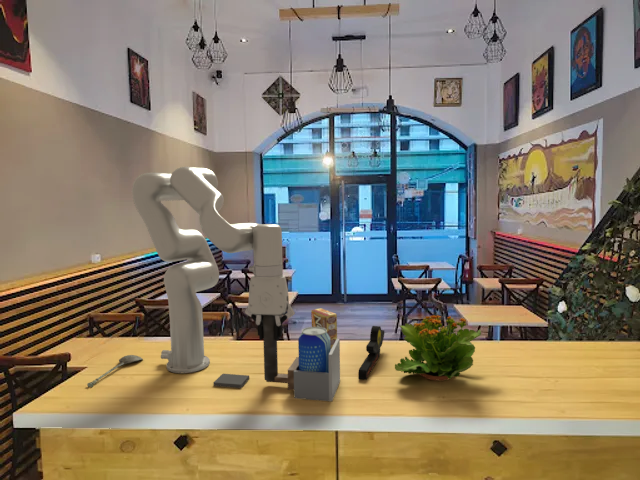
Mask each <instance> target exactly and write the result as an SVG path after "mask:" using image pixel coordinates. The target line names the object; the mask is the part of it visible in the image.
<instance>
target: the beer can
mask: <svg viewBox="0 0 640 480" xmlns="http://www.w3.org/2000/svg"><path fill="white" fill-rule="evenodd" d="M299 335H300V336H299V337H298V345H297V346H298V357H299V371H312V372H326V373H329V353H330V351H331V342H330V337H329V335H328V333H327V330H326V329H325V328H322V327H312V326H308V327H304V328H302V329H301V333H300V334H299Z"/></svg>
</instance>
